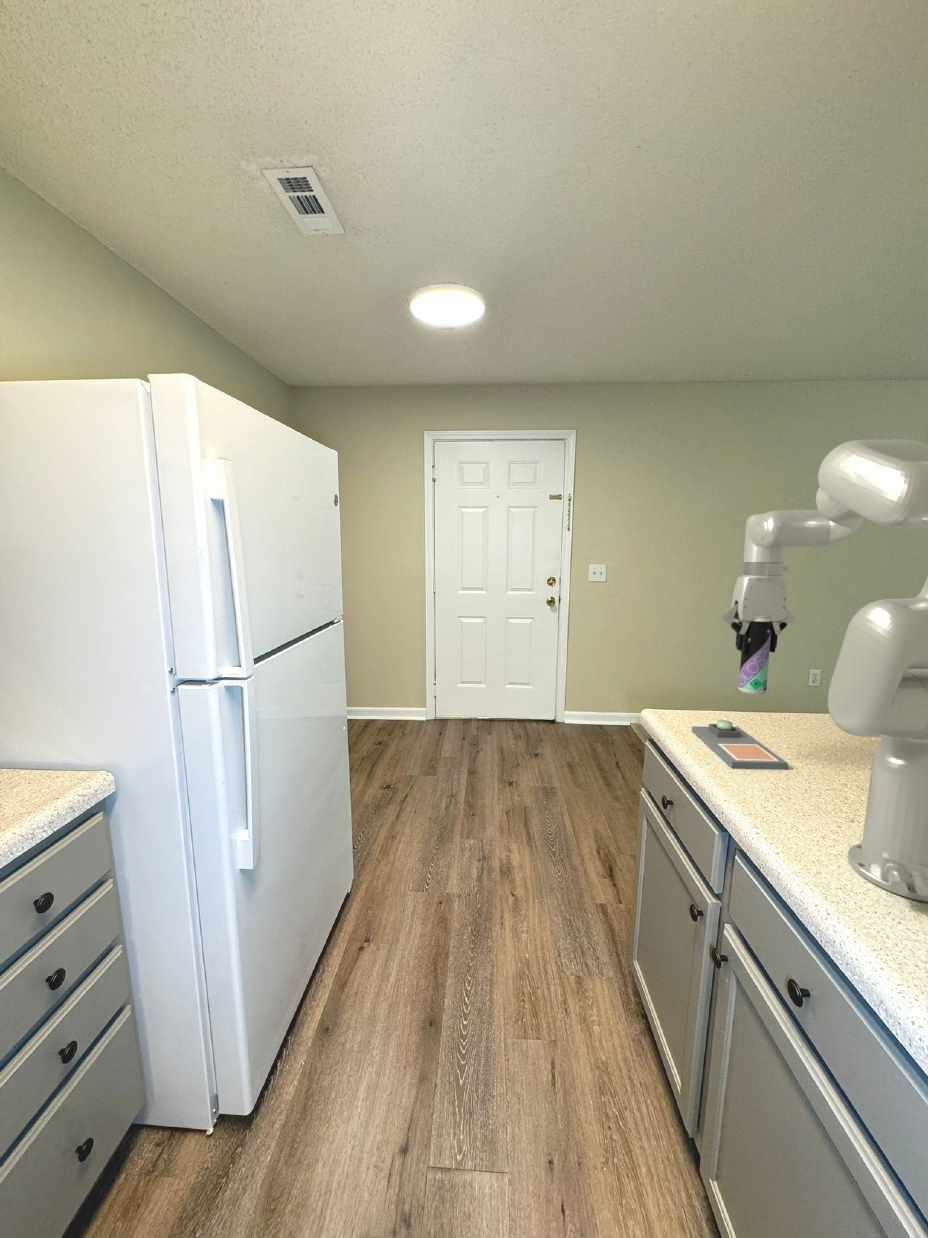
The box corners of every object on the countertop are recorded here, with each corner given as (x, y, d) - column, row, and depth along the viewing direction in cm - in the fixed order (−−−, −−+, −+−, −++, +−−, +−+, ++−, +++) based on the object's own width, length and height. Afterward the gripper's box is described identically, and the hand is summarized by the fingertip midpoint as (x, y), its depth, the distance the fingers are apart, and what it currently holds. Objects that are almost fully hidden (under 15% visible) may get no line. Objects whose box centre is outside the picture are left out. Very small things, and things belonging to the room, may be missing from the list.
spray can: (738, 692, 111) (745, 604, 109) (738, 686, 116) (744, 602, 113) (766, 695, 109) (774, 606, 106) (765, 689, 114) (772, 603, 111)
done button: (735, 731, 124) (735, 725, 124) (720, 731, 124) (720, 725, 124) (728, 726, 128) (728, 720, 127) (713, 725, 128) (714, 720, 128)
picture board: (787, 769, 109) (788, 756, 109) (731, 768, 110) (732, 755, 109) (737, 732, 131) (738, 721, 130) (691, 731, 132) (692, 720, 131)
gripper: (791, 569, 112) (784, 647, 114) (714, 570, 113) (709, 647, 115) (813, 571, 104) (805, 654, 107) (730, 571, 105) (724, 654, 108)
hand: (755, 650), depth 111 cm, fingers closed on spray can, 5 cm apart
